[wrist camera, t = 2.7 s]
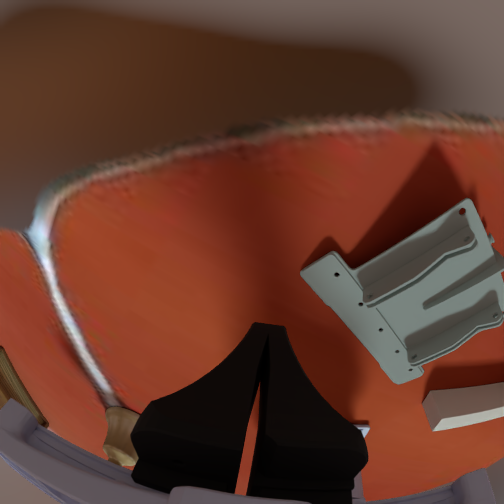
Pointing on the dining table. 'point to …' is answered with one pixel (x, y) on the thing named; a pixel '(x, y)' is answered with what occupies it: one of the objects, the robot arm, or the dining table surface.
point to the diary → (16, 389)
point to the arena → (464, 406)
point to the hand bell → (120, 436)
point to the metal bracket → (418, 292)
